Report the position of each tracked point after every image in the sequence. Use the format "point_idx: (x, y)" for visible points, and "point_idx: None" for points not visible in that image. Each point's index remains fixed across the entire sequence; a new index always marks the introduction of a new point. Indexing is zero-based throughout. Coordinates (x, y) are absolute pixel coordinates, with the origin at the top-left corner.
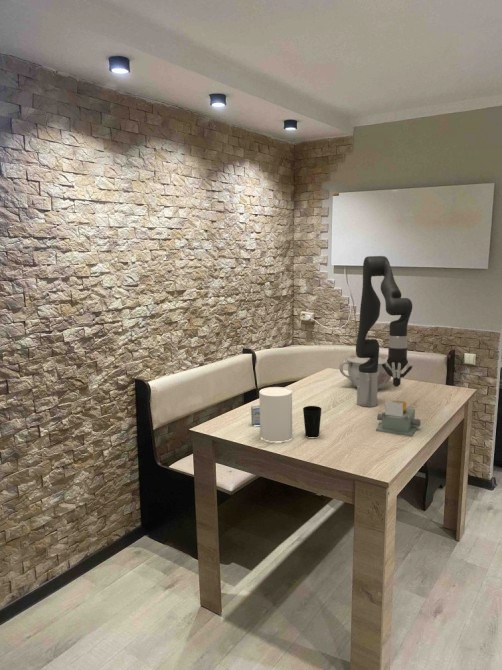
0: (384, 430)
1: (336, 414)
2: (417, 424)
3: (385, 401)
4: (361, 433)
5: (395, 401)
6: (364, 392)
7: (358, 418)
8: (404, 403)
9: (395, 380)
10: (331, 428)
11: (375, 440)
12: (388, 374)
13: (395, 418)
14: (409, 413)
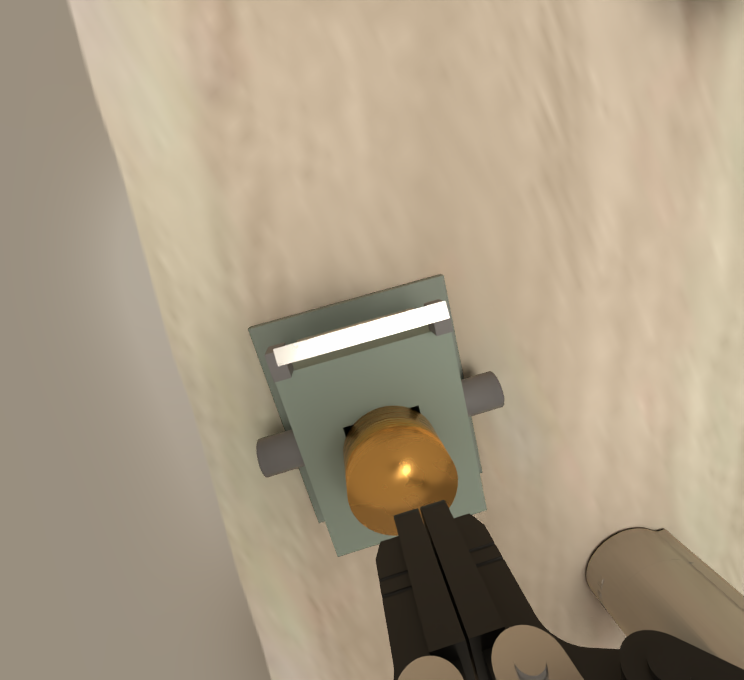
0: (397, 288)
1: (703, 356)
2: (268, 436)
3: (443, 302)
4: (487, 185)
5: (439, 498)
6: (694, 594)
7: (590, 379)
8: (363, 502)
9: (464, 586)
10: (655, 145)
11: (373, 133)
12: (710, 659)
13: (358, 347)
14: (318, 463)
